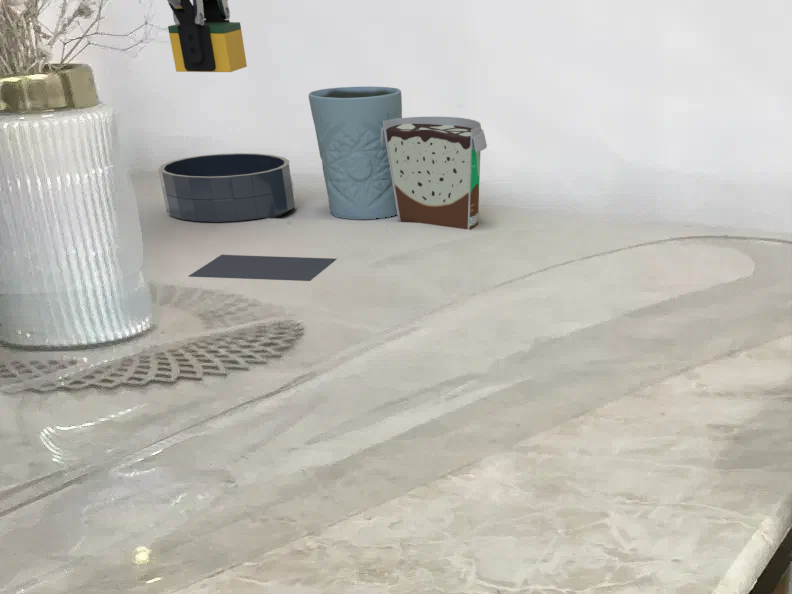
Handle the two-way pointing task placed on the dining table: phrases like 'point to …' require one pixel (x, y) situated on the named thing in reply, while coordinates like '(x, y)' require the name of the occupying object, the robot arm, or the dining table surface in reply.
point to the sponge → (216, 47)
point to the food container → (435, 169)
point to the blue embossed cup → (356, 148)
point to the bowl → (227, 187)
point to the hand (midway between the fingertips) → (210, 65)
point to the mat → (264, 267)
